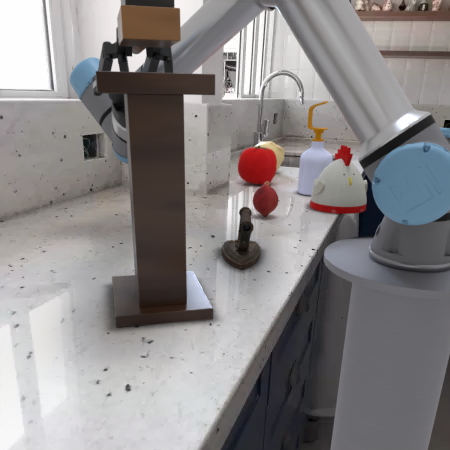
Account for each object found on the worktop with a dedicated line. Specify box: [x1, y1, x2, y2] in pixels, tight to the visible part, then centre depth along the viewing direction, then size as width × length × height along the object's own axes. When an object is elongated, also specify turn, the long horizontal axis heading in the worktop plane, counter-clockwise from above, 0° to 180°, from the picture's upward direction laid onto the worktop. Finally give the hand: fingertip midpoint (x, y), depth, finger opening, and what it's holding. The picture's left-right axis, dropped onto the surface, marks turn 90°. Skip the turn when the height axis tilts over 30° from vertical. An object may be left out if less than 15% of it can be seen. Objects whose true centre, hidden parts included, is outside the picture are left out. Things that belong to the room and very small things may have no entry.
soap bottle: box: [297, 100, 334, 197], centre depth 134 cm, size 9×9×25 cm
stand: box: [96, 70, 216, 328], centre depth 60 cm, size 14×12×28 cm
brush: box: [116, 0, 181, 55], centre depth 59 cm, size 23×6×6 cm, turn 14°
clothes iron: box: [221, 206, 262, 270], centre depth 81 cm, size 7×11×10 cm, turn 0°
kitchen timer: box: [309, 144, 368, 215], centre depth 119 cm, size 14×14×15 cm
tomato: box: [237, 145, 277, 186], centre depth 150 cm, size 12×13×12 cm
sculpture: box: [253, 140, 286, 172], centre depth 172 cm, size 12×12×11 cm
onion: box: [252, 181, 280, 217], centre depth 110 cm, size 6×6×8 cm
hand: (140, 14), depth 59 cm, fingers closed on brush, 2 cm apart
